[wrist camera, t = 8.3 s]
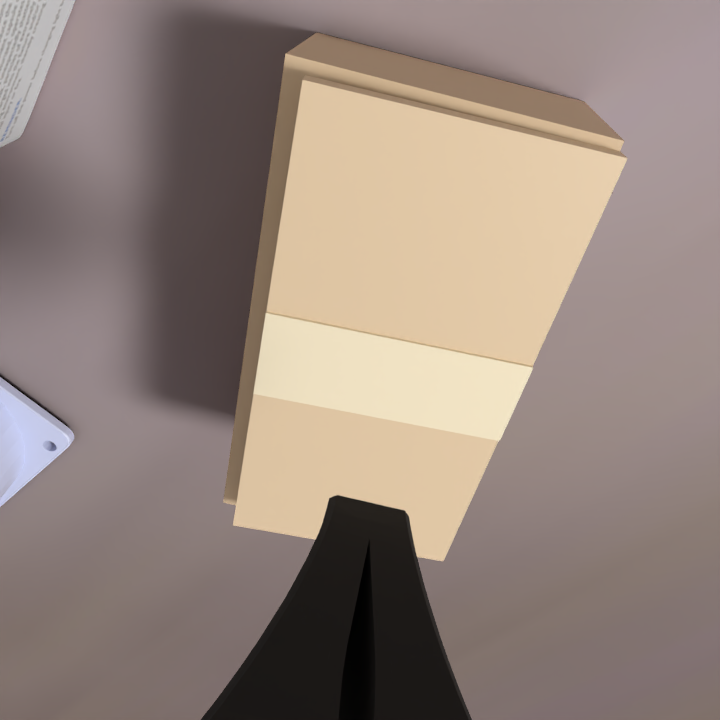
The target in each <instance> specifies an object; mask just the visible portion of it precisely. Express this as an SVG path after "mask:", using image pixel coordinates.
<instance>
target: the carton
mask: <svg viewBox="0 0 720 720" xmlns="http://www.w3.org/2000/svg"><path fill="white" fill-rule="evenodd" d="M305 75H308V76H312V77H316V78H320V79H324V80H328V81H332V82H337V83H341V84H345V85H349V86H353V87H357V88H361V89H365V90H370V91H374V92H378V93H382V94H386V95H390V96H394V97H398V98H403V99H407V100H411V101H415V102H419V103H423V104H427V105H431V106H436V107H440V108H444V109H448V110H452V111H456V112H460V113H464V114H469V115H473V116H477V117H481V118H485V119H489V120H493V121H497V122H502V123H506V124H510V125H514V126H518V127H522V128H526V129H530V130H535V131H539V132H543V133H547V134H551V135H555V136H559V137H563V138H568V139H572V140H576V141H580V142H584V143H588V144H592V145H596V146H601V147H605V148H609V149H613V150H617V151H620V149H621V147H622V145H623V143H624V140H623V139H622V138H621V137H620V136H619V135H618V134H617V133H616V132H615V131H614V130H613V129H612V128H611V127H610V126H609V125H608V124H607V123H606V122H605V121H604V120H602V119H601V118H600V117H599V116H598V115H597V114H596V113H595V112H594V111H593V110H592V109H591V108H590V107H589V106H588V105H587V104H586V103H585V102H584V101H580V100H576V99H572V98H568V97H564V96H561V95H557V94H553V93H549V92H545V91H541V90H537V89H534V88H530V87H526V86H522V85H518V84H514V83H510V82H507V81H503V80H499V79H495V78H491V77H487V76H483V75H480V74H476V73H472V72H468V71H464V70H460V69H456V68H453V67H449V66H445V65H441V64H437V63H433V62H429V61H426V60H422V59H418V58H414V57H410V56H406V55H402V54H399V53H395V52H391V51H387V50H383V49H379V48H375V47H372V46H368V45H364V44H360V43H356V42H352V41H348V40H345V39H341V38H337V37H333V36H329V35H325V34H322V33H318V32H317V33H315V34H314V35H312V36H311V37H309V38H308V39H306V40H305V41H303V42H302V43H300V44H299V45H298V46H296V47H295V48H293V49H292V50H290V51H289V52H287V53H286V54H285V61H284V68H283V75H282V82H281V90H280V97H279V104H278V111H277V119H276V126H275V133H274V140H273V147H272V155H271V162H270V169H269V176H268V183H267V191H266V198H265V205H264V212H263V219H262V227H261V234H260V241H259V248H258V256H257V263H256V270H255V277H254V284H253V292H252V299H251V306H250V313H249V320H248V328H247V335H246V342H245V349H244V357H243V364H242V371H241V378H240V385H239V393H238V400H237V407H236V414H235V421H234V429H233V436H232V443H231V450H230V458H229V465H228V472H227V479H226V486H225V494H224V501H223V502H224V503H228V504H232V505H236V503H237V497H238V490H239V484H240V477H241V471H242V464H243V458H244V452H245V445H246V439H247V432H248V426H249V420H250V413H251V407H252V400H253V392H254V386H255V379H256V373H257V367H258V360H259V354H260V347H261V341H262V334H263V328H264V322H265V315H266V310H267V304H268V298H269V291H270V285H271V278H272V272H273V266H274V259H275V253H276V246H277V240H278V233H279V227H280V221H281V214H282V208H283V201H284V195H285V189H286V182H287V176H288V169H289V163H290V156H291V150H292V144H293V137H294V131H295V124H296V118H297V112H298V105H299V99H300V92H301V86H302V80H303V78H304V76H305Z"/></svg>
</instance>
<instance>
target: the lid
mask: <svg viewBox="0 0 720 720" xmlns="http://www.w3.org/2000/svg"><path fill="white" fill-rule="evenodd" d="M626 161H627V157H626V156H625V155H623V154H622V153H621V152H620V151H617V150H613V149H609V148H605V147H601V146H596V145H592V144H588V143H584V142H580V141H576V140H572V139H568V138H563V137H559V136H555V135H551V134H547V133H543V132H539V131H535V130H530V129H526V128H522V127H518V126H514V125H510V124H506V123H502V122H497V121H493V120H489V119H485V118H481V117H477V116H473V115H469V114H464V113H460V112H456V111H452V110H448V109H444V108H440V107H436V106H431V105H427V104H423V103H419V102H415V101H411V100H407V99H403V98H398V97H394V96H390V95H386V94H382V93H378V92H374V91H370V90H365V89H361V88H357V87H353V86H349V85H345V84H341V83H337V82H332V81H328V80H324V79H320V78H316V77H312V76H308V75H305V76H304V78H303V80H302V86H301V92H300V99H299V105H298V112H297V118H296V124H295V131H294V137H293V144H292V150H291V156H290V163H289V169H288V176H287V182H286V189H285V195H284V201H283V208H282V214H281V221H280V227H279V233H278V240H277V246H276V253H275V259H274V266H273V272H272V278H271V285H270V291H269V298H268V304H267V310H266V315H265V322H264V328H263V334H262V341H261V347H260V354H259V360H258V367H257V373H256V379H255V386H254V392H253V400H252V407H251V413H250V420H249V426H248V432H247V439H246V445H245V452H244V458H243V464H242V471H241V477H240V484H239V490H238V497H237V503H236V509H235V516H234V522H233V525H234V526H240V527H246V528H252V529H258V530H263V531H269V532H275V533H281V534H287V535H293V536H298V537H304V538H310V539H316V538H317V535H318V533H319V531H320V528H321V526H322V523H323V519H324V516H325V512H326V508H327V505H328V501H329V498H331V497H333V496H335V495H340V496H344V497H348V498H353V499H357V500H361V501H366V502H370V503H374V504H379V505H383V506H387V507H392V508H396V509H400V510H405V511H406V513H407V514H408V516H409V519H410V526H411V531H412V536H413V541H414V546H415V551H416V555H417V557H421V558H427V559H433V560H438V561H444V559H445V556H446V554H447V552H448V550H449V548H450V545H451V543H452V541H453V539H454V537H455V535H456V532H457V530H458V528H459V526H460V524H461V521H462V519H463V517H464V515H465V513H466V510H467V508H468V506H469V504H470V502H471V500H472V497H473V495H474V493H475V491H476V489H477V486H478V484H479V482H480V480H481V478H482V476H483V473H484V471H485V469H486V467H487V465H488V462H489V460H490V458H491V456H492V454H493V451H494V449H495V447H496V445H497V443H498V441H500V439H501V437H502V435H503V433H504V430H505V428H506V426H507V424H508V422H509V420H510V417H511V415H512V413H513V411H514V409H515V407H516V404H517V402H518V400H519V398H520V396H521V393H522V391H523V389H524V387H525V385H526V383H527V380H528V378H529V376H530V374H531V372H532V369H533V364H534V362H535V360H536V357H537V355H538V353H539V351H540V349H541V347H542V344H543V342H544V340H545V338H546V336H547V333H548V331H549V329H550V327H551V325H552V322H553V320H554V318H555V316H556V314H557V312H558V309H559V307H560V305H561V303H562V301H563V298H564V296H565V294H566V292H567V290H568V287H569V285H570V283H571V281H572V279H573V277H574V274H575V272H576V270H577V268H578V266H579V263H580V261H581V259H582V257H583V255H584V252H585V250H586V248H587V246H588V244H589V242H590V239H591V237H592V235H593V233H594V231H595V228H596V226H597V224H598V222H599V220H600V217H601V215H602V213H603V211H604V209H605V207H606V204H607V202H608V200H609V198H610V196H611V193H612V191H613V189H614V187H615V185H616V183H617V180H618V178H619V176H620V174H621V172H622V169H623V167H624V165H625V163H626Z"/></svg>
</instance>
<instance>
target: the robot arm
mask: <svg viewBox="0 0 720 720" xmlns="http://www.w3.org/2000/svg"><path fill="white" fill-rule="evenodd" d="M73 440H74V434H73V432H72V431H71V430H70V429H69V428H68V427H67V426H66V425H64V424H63V423H62V422H60V421H59V420H58V419H56V418H55V417H54V416H52V415H51V414H49V413H48V412H47V411H45V410H44V409H43V408H41V407H40V406H39V405H37V404H36V403H35V402H33V401H32V400H31V399H29V398H28V397H26V396H25V395H24V394H22V393H21V392H20V391H18V390H17V389H16V388H14V387H13V386H12V385H10V384H9V383H8V382H6V381H5V380H3V379H2V378H1V377H0V507H1V506H2V505H3V504H4V503H5V502H6V501H7V500H9V499H10V498H11V497H12V496H13V495H14V494H15V493H17V492H18V491H19V490H20V489H21V488H22V487H23V486H25V485H26V484H27V483H28V482H29V481H30V480H31V479H33V478H34V477H35V476H36V475H37V474H38V473H39V472H41V471H42V470H43V469H44V468H45V467H46V466H47V465H49V464H50V463H51V462H52V461H53V460H54V459H55V458H56V457H58V456H59V455H60V454H61V453H62V452H63V451H64V450H66V449H67V448H68V447H69V446H70V444H71V443H72V441H73ZM50 441H51V442H53V443H54V444H53V443H51V442H50ZM201 720H472V719H471V717H470V714H469V712H468V710H467V707H466V705H465V702H464V700H463V697H462V695H461V692H460V690H459V687H458V684H457V682H456V679H455V677H454V674H453V671H452V669H451V666H450V663H449V661H448V658H447V655H446V652H445V649H444V646H443V644H442V641H441V638H440V635H439V632H438V628H437V625H436V622H435V619H434V616H433V613H432V610H431V606H430V603H429V600H428V597H427V593H426V590H425V586H424V582H423V579H422V575H421V571H420V567H419V563H418V559H417V555H416V551H415V546H414V541H413V536H412V531H411V526H410V519H409V516H408V514H407V513H406V511H405V510H400V509H396V508H392V507H387V506H383V505H379V504H374V503H370V502H366V501H361V500H357V499H353V498H348V497H344V496H340V495H335V496H333V497H331V498H329V501H328V505H327V508H326V512H325V516H324V519H323V523H322V526H321V528H320V531H319V533H318V535H317V538H316V540H315V542H314V544H313V546H312V549H311V551H310V553H309V555H308V557H307V559H306V561H305V563H304V565H303V567H302V568H301V570H300V572H299V574H298V576H297V578H296V580H295V581H294V583H293V585H292V587H291V589H290V591H289V592H288V594H287V596H286V598H285V599H284V601H283V603H282V604H281V606H280V607H279V609H278V611H277V612H276V614H275V615H274V617H273V618H272V620H271V622H270V623H269V625H268V626H267V628H266V630H265V631H264V633H263V634H262V636H261V638H260V639H259V641H258V642H257V644H256V645H255V647H254V648H253V650H252V651H251V652H250V654H249V655H248V657H247V658H246V660H245V661H244V663H243V664H242V665H241V667H240V668H239V670H238V671H237V672H236V674H235V675H234V677H233V678H232V679H231V681H230V682H229V683H228V685H227V686H226V688H225V689H224V690H223V692H222V693H221V694H220V696H219V697H218V698H217V700H216V701H215V702H214V704H213V705H212V706H211V707H210V709H209V710H208V711H207V713H206V714H205V715H204V716H203V718H202V719H201Z"/></svg>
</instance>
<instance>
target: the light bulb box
mask: <svg viewBox="0 0 720 720" xmlns="http://www.w3.org/2000/svg"><path fill="white" fill-rule="evenodd" d="M74 2H75V0H0V147H2V146H4V145H6V144H8V143H11V142H13V141H15V140H17V139H19V138H20V137H21V135H22V134H23V132H24V130H25V127H26V125H27V123H28V120H29V118H30V116H31V113H32V111H33V108H34V105H35V103H36V100H37V98H38V95H39V93H40V90H41V87H42V85H43V82H44V80H45V77H46V75H47V72H48V69H49V67H50V64H51V61H52V59H53V56H54V54H55V51H56V48H57V46H58V43H59V41H60V38H61V36H62V33H63V31H64V28H65V25H66V23H67V20H68V18H69V16H70V13H71V11H72V8H73V5H74Z"/></svg>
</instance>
